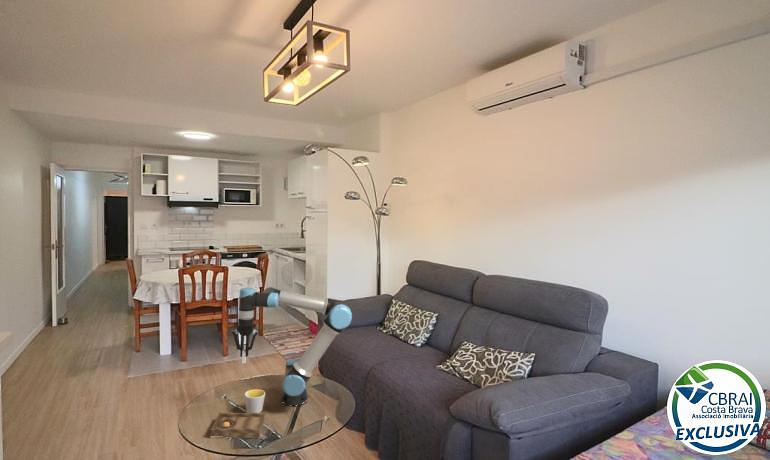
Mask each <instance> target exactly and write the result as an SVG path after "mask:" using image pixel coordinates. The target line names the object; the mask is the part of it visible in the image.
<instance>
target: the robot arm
mask: <svg viewBox="0 0 770 460" xmlns="http://www.w3.org/2000/svg"><path fill="white" fill-rule="evenodd" d="M279 305H283V306H287V307H293V308H297V309H301V310H302V309H303V310H308V311H310V312H311V311H313V312H318V313H322V315H323V316H325V317H324V319H323V322H322V323H323V325H322V327H321V328H320V330H318V333H317V334H316V336H315V337H314V338H313V340H312V341H311V343H310V345H308V347H307V349H306V350H305V352H304V353H303V354H302V356H301V357H300V358H290V359H288V360H286V362H285V372H284V376H283V380H282V384H281V385H282V389H283V391H282V393H281V396H280V402H281V401H282V402H284V403H285V404H286V405H285V406H287V405H297V404H301V403H303V402H305V401H306V400H307V399H308V400H309V393H308V390H307V386H306V385H307V384H308V382H309V381H310V379H311V378H312V375H313V373H312V371H313V370H314V368H315V367H316V365H317V364H318V362H319V361H320V360H321V358H323V356H324V354H325V353H326V351H327V349H328V348H329V347H330V345H331V344H332V342H333V341H334V339H335V338H336V336H337V335H340V334H342V333H343V331H344V330H345V329H346V328H347V327H349V326H350V324H351V322H352V319H353V314H352V311H351V308H350V305H349V304H348V303H347V302H345V301H344V300H341V299H335V298H329V297H327V298H320V297H315V296H311V295H310V296H309V295H307V294H306V295H305V294H301V293H296V292H291V291H287V290H286V291H285V290H281V289H277V288H276V287H274V286H268V287H266V288H265V289H264V290H263V292H262V291H261V292H256V289H255V288H254V287H242V288H241V289H240V290H239V296H238V322H237V327H236V329H234V330H232V335H233V338H234V342H235V346H236V350H239V351H240V353H239V356H240V358H241V364H242V365H243V364H244V365H245V364H246V362H247V358H248V356H249V351H251V350H252V349H253V346H254V343H255V340H256V336H257V335H258V333H259V330H256V329H255V326H254V317H255V308H271V309H272V308H277V307H278V306H279ZM238 333H239V334H238ZM251 334H252V337H251V341H250V335H251ZM239 335H240V340H239Z"/></svg>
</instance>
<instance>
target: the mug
mask: <svg viewBox="0 0 770 460" xmlns="http://www.w3.org/2000/svg"><path fill="white" fill-rule="evenodd" d="M265 397H266V391H264V390H262V389H249V390H246V392H245V393H244V399H245V402H244V403H245V409H246V410H245V411H246V413H262V411H263V408H264V407H263V406H264V402H265Z"/></svg>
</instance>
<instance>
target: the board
mask: <svg viewBox="0 0 770 460" xmlns="http://www.w3.org/2000/svg"><path fill="white" fill-rule="evenodd" d="M265 416H266V414H265V412H260V413H247V412H219V413H218V416H217V417H216V418H215V420H214V422H213V424H212V426H211V427H210V431H209V437H210V436H223V437H233V438H232V439H259V438H260V436H261V433H262V429H263V426H264V423H265ZM224 422H229V423H230V426H227V427H224V426H222V425H223V423H224Z"/></svg>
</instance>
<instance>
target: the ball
mask: <svg viewBox="0 0 770 460" xmlns="http://www.w3.org/2000/svg"><path fill="white" fill-rule="evenodd" d="M222 426H224V427H227V426H230V423H229V422H224V423H223V425H222Z"/></svg>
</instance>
